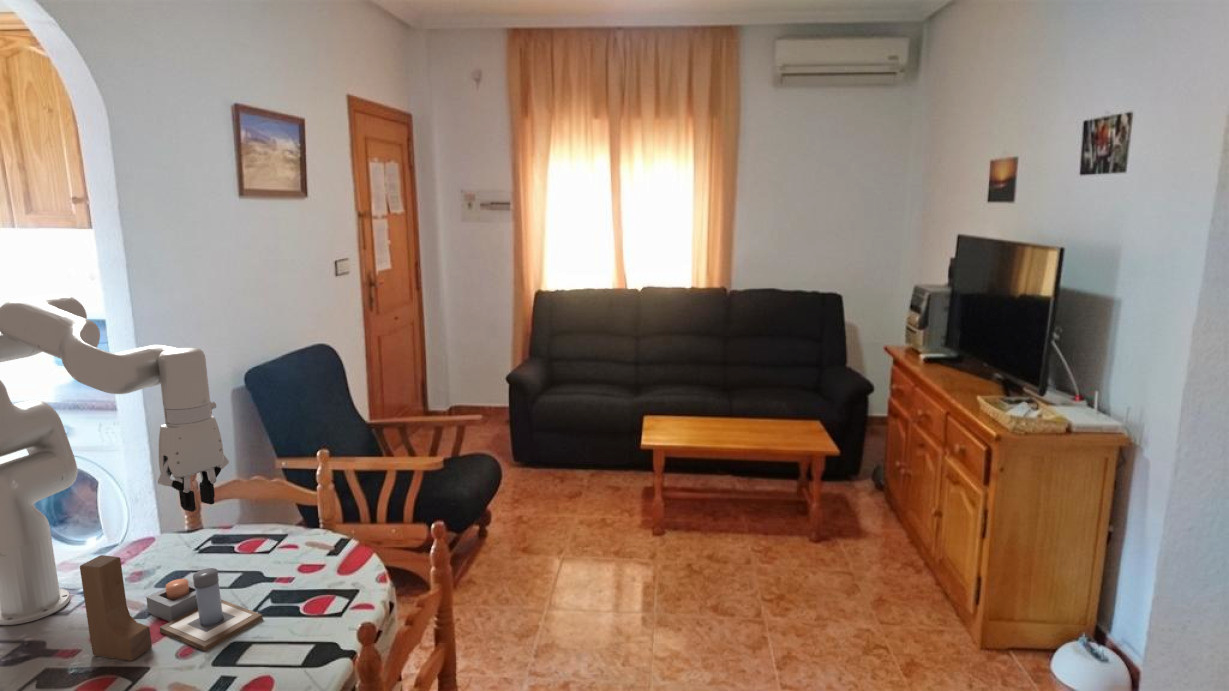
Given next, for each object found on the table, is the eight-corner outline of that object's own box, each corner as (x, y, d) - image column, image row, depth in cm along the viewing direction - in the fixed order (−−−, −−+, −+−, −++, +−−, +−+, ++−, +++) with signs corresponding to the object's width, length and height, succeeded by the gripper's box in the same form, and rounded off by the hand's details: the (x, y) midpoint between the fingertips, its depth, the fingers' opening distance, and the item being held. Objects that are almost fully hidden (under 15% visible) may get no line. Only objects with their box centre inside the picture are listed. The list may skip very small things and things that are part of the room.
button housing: (148, 612, 144) (146, 597, 143) (186, 594, 151) (185, 579, 150) (172, 622, 140) (170, 606, 140) (210, 603, 147) (208, 588, 147)
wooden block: (153, 647, 132) (141, 558, 129) (132, 662, 128) (120, 570, 125) (113, 641, 134) (101, 554, 131) (91, 656, 130) (78, 565, 127)
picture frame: (159, 631, 137) (159, 626, 137) (218, 602, 148) (217, 597, 148) (205, 651, 131) (204, 645, 131) (262, 619, 142) (262, 613, 141)
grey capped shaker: (194, 622, 138) (188, 575, 137) (215, 612, 142) (208, 566, 140) (207, 628, 137) (201, 580, 135) (228, 617, 140) (222, 570, 138)
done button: (162, 597, 144) (161, 585, 144) (181, 588, 148) (180, 577, 147) (174, 601, 143) (173, 590, 142) (193, 592, 146) (192, 581, 146)
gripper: (216, 401, 141) (225, 488, 144) (130, 422, 126) (142, 518, 130) (241, 406, 137) (250, 495, 141) (155, 428, 123) (167, 526, 126)
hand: (198, 505), depth 135 cm, fingers open, 3 cm apart
